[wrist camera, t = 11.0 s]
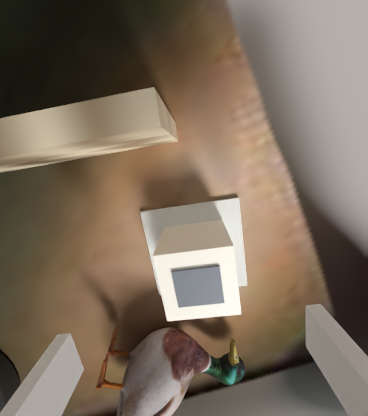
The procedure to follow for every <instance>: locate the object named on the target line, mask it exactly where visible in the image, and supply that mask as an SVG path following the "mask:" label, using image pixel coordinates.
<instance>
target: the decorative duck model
mask: <svg viewBox="0 0 368 416" xmlns="http://www.w3.org/2000/svg"><path fill="white" fill-rule="evenodd" d="M116 335H117V326H116V329H115V331H114V332H113V336H112V340H111V343H110V347H109V350H108V354H107V356H106V358H105V360H104V361H103V365H102V369H101V373H100V376H99V380H98V383H97V386H96V390H98V389H99V388H101V387H109V388H115V389H120V390H121V393H120V398H119V403H118V410H117V416H171V415H172V414H173V413H174V412H175V410H176V409H177V407H178V406H179V404H180V403H181V401H182V399H183V397H184V395H185V392H186V390H187V388H188V385H189V383H190V381H191V379H192V377H193V376H194V375H195V374H196V373H198V372H204V373H207V374H209V375H211V376H213V377H214V378H216V379H218V380H219V381H221V382H222V383H224V384H226V385H232V384H234V383H236V382H238V381H240V380H241V379H242V377H243V376H244V373H245V366H244V363H243V361H242V360H241V359H240V358H239V356H238V355H237V352H236V345H235V342H234V339H233V338H231V342H230V352H229V353H227V354H225V355H224V356H222V357H221V358H217V359H216V358H214V357H212V356H211V355H210V354H208V353H207V352H206V351H205V350H204V349H203V348H202V347H201V346H200V345H199V344H198V343H197V342H196V341H195V340H194V339H193V338H192V337H190V336H189V335H188V334H187V333H185V332H184V331H182V330H180V329H177V328H163V329H159V330H156V331H154V332H152V333H150V334H149V335H148V336H147V337H146V338H145V339H143V340H142V341H141V342H140V343H139V345H138V346H137V347H136V348H135V349H134V350H133V351H131V352H126V351H117V350H115V349H114V344H115V340H116ZM113 355H122V356H129V357H130V361H129V363H128V366H127V368H126V371H125V374H124V378H123V382H122V384H117V383H110V382H108V381H106V380H105V372H106V367H107V362H108V356H113Z"/></svg>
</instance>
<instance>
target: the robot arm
mask: <svg viewBox="0 0 368 416" xmlns="http://www.w3.org/2000/svg"><path fill="white" fill-rule="evenodd" d="M306 347H307V349H308V350H309V352H310V354H311V355H312V357H313V358H314V360H315V362H316V363H317V365H318V367H319V368H320V370H321V371H322V373H323V375H324V376H325V378H326V379H327V381H328V383H329V384H330V386H331V388H332V389H333V391H334V392H335V394H336V395H337V397H338V399H339V400H340V402H341V403H342V405H343V407H344V409H345V410H346V412H347V413H348V415H349V416H368V357H367V355H366V354H365V353H364V352H363V351H362V350H361V349H360V348H359V347H358V345H357V344H356V343H355V342H354V341H353V340H352V339H351V338H350V336H349V335H348V334H347V333H346V332H345V331H344V330H343V329H342V327H341V326H340V325H339V324H338V323H337V322H336V321H335V320H334V318H333V317H332V316H331V315H330V314H329V313H328V312H327V311H326V310H325V308H324V307H323V306H322V305H321V304H315V305H306ZM83 370H84V368H83V365H82V362H81V360H80V357H79V355H78V352H77V349H76V347H75V344H74V342H73V339H72V336H71V334H70V333H66V334H58V335H57V336H56V337H55V339H54V340H53V341H52V343H51V344H50V345H49V347H48V348H47V350H46V351H45V352H44V354H43V355H42V356H41V358H40V359H39V360H38V362H37V363H36V365H35V366H34V367H33V369H32V370H31V371H30V373H29V374H28V375H27V377H26V378H25V379H24V381H23V382H22V384H21V385H20V383H19V378H18V375H17V373H16V371H15V369H14V367H13V366H12V364H11V363H10V362H9V361H8V359H7V358H6V357H5V356H4V355H3V354H1V353H0V416H61V415H62V413H63V411H64V409H65V407H66V405H67V403H68V401H69V399H70V397H71V395H72V393H73V391H74V389H75V387H76V385H77V383H78V381H79V379H80V377H81V375H82V372H83Z"/></svg>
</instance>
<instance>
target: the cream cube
mask: <svg viewBox="0 0 368 416" xmlns="http://www.w3.org/2000/svg"><path fill="white" fill-rule="evenodd" d="M153 261H154V265H155V270H156V274H157V278H158V283H159V287H160V292H161V296H162V300H163V305H164V309H165V313H166V318H167V321H177V320H188V319H198V318H209V317H219V316H230V315H240V314H241V307H240V298H239V289H238V280H237V271H236V262H235V253H234V245H233V243H232V241H231V238H230V236H229V234H228V231H227V229H226V227H225V225H224V222H223V220H222V219H221V220H214V221H206V222H199V223H192V224H185V225H178V226H171V227H164V229H163V232H162V234H161V237H160V239H159V241H158V244H157V246H156V249H155V251H154V253H153Z"/></svg>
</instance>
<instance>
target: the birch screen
mask: <svg viewBox="0 0 368 416" xmlns="http://www.w3.org/2000/svg"><path fill="white" fill-rule="evenodd" d="M177 141H178V136H177V130H176V123H175V122H174V120H173V118H172V116H171V115H170V113H169V111H168V110H167V108H166V106H165V105H164V103H163V101H162V100H161V98H160V96H159V94H158V93H157V91H156V89H155V88H154V87H151V88H146V89H141V90H136V91H132V92H127V93H122V94H117V95H112V96H107V97H102V98H97V99H92V100H87V101H83V102H78V103H73V104H68V105H63V106H58V107H53V108H48V109H43V110H39V111H34V112H29V113H24V114H19V115H14V116H9V117H4V118H0V173H1V172H7V171H13V170H18V169H24V168H29V167H35V166H41V165H46V164H52V163H58V162H63V161H69V160H75V159H80V158H86V157H92V156H97V155H103V154H109V153H114V152H120V151H126V150H131V149H137V148H143V147H148V146H154V145H160V144H165V143H171V142H177Z"/></svg>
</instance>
